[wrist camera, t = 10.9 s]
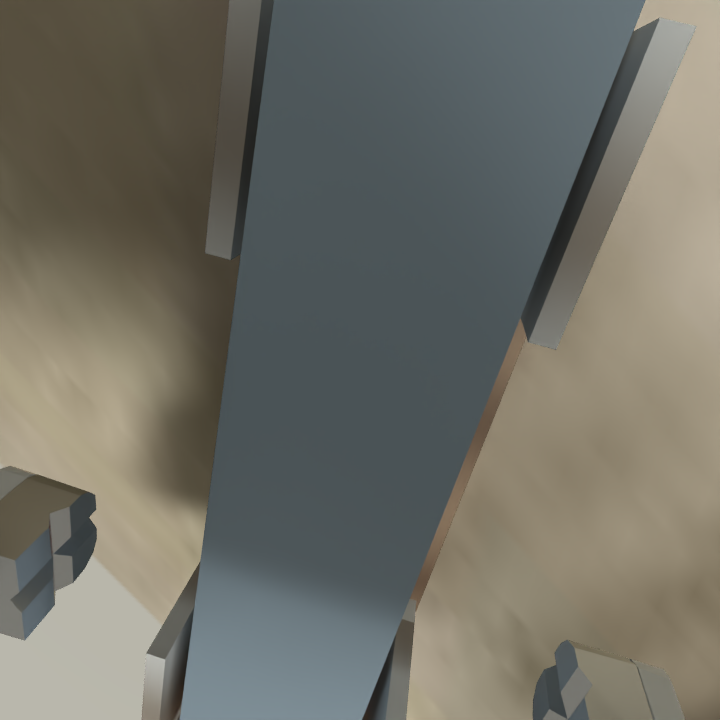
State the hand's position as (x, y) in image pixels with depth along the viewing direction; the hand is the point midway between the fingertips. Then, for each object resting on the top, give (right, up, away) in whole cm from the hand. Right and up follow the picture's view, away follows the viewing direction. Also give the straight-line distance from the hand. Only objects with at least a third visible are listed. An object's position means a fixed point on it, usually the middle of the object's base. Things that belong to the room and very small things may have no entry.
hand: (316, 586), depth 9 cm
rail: (0, +2, +4) cm, 5 cm away
